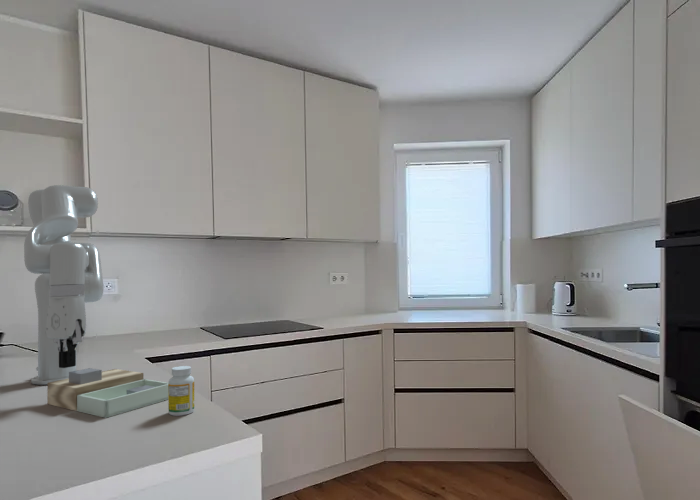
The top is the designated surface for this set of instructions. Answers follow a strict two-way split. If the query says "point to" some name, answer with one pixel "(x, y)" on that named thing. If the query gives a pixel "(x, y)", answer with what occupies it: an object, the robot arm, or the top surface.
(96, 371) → the tile
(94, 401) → the tray
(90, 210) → the robot arm
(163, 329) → the top surface
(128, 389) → the tile
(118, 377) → the board
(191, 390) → the supplement bottle
